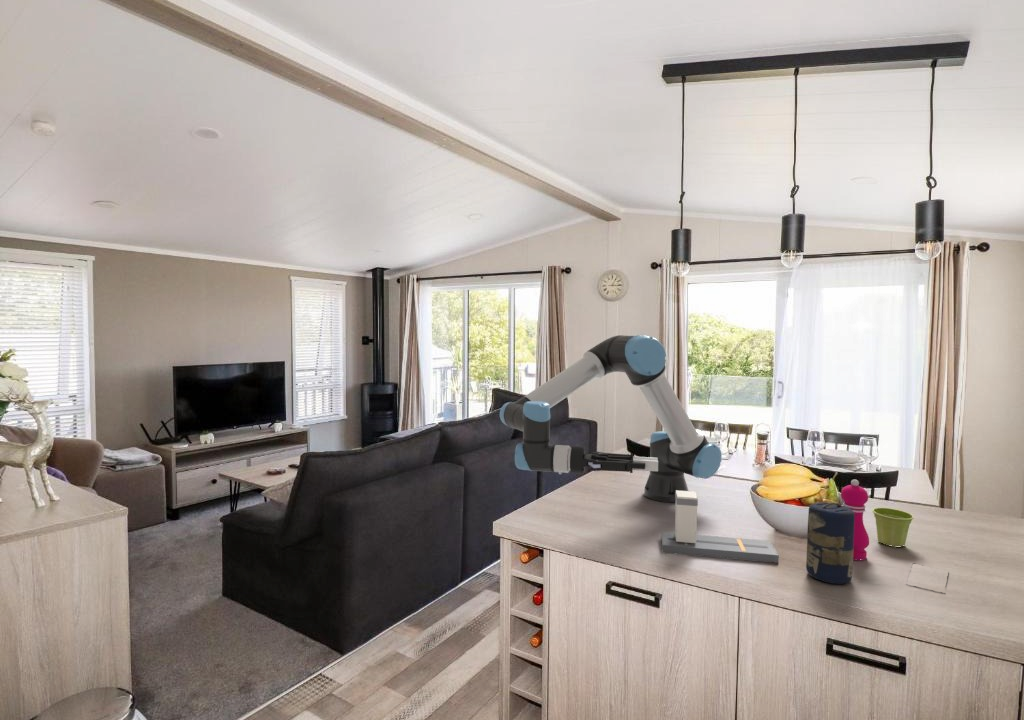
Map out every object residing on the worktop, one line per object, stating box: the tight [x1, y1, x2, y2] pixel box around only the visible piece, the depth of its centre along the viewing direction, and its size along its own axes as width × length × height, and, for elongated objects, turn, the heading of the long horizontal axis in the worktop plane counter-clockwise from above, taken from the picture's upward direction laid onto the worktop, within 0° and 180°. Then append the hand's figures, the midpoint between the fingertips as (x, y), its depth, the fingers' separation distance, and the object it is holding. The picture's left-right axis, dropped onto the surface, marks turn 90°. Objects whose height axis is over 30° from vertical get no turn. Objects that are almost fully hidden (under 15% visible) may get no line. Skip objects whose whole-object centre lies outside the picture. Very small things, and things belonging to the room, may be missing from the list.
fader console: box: [660, 531, 780, 564], centre depth 147 cm, size 28×10×2 cm, turn 77°
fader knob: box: [674, 490, 699, 543], centre depth 149 cm, size 5×6×12 cm
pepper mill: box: [840, 479, 870, 561], centre depth 144 cm, size 7×7×20 cm
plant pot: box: [871, 507, 915, 546], centre depth 153 cm, size 9×9×9 cm
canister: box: [805, 501, 855, 585], centre depth 131 cm, size 10×10×18 cm
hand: (657, 464), depth 150 cm, fingers open, 3 cm apart
